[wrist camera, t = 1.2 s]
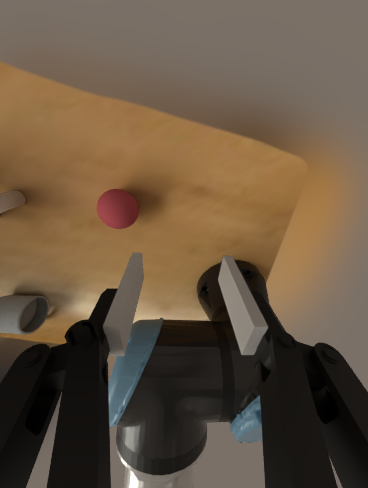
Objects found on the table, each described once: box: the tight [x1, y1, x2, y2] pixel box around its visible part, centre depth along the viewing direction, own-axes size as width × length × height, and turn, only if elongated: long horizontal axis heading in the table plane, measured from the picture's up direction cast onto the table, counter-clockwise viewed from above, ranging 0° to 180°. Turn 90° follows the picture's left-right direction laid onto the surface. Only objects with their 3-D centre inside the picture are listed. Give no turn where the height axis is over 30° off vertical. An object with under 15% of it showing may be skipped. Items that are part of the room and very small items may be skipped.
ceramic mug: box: [0, 295, 49, 335], centre depth 37 cm, size 11×8×8 cm
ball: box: [97, 189, 139, 229], centre depth 26 cm, size 6×6×6 cm
